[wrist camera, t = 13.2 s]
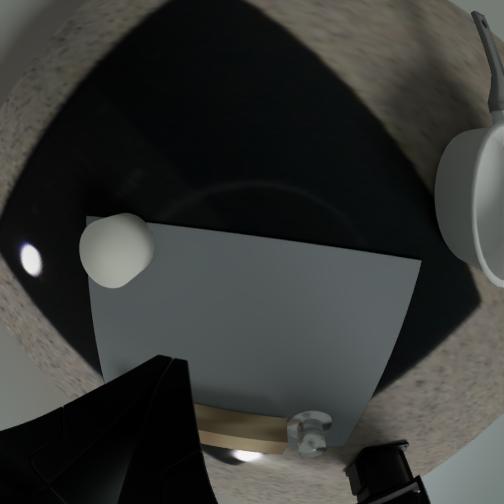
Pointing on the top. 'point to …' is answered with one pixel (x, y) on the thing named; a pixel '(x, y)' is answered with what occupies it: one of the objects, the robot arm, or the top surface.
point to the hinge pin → (310, 431)
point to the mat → (260, 321)
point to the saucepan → (476, 180)
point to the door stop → (116, 249)
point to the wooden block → (241, 430)
